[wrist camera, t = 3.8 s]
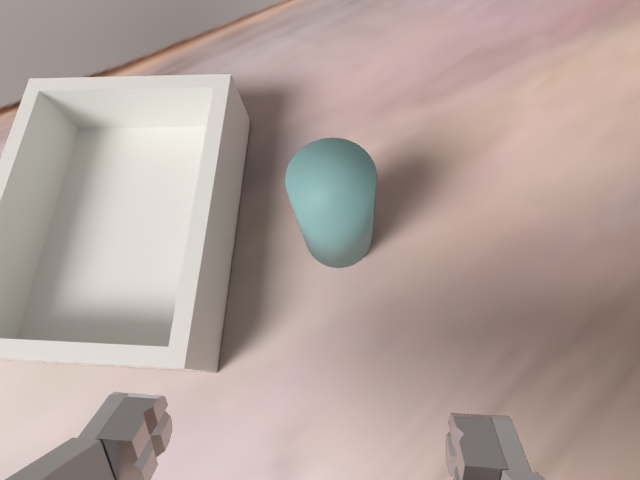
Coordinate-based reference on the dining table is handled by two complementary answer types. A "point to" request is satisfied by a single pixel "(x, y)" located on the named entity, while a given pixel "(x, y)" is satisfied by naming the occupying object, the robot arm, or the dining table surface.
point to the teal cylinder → (333, 199)
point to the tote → (120, 220)
